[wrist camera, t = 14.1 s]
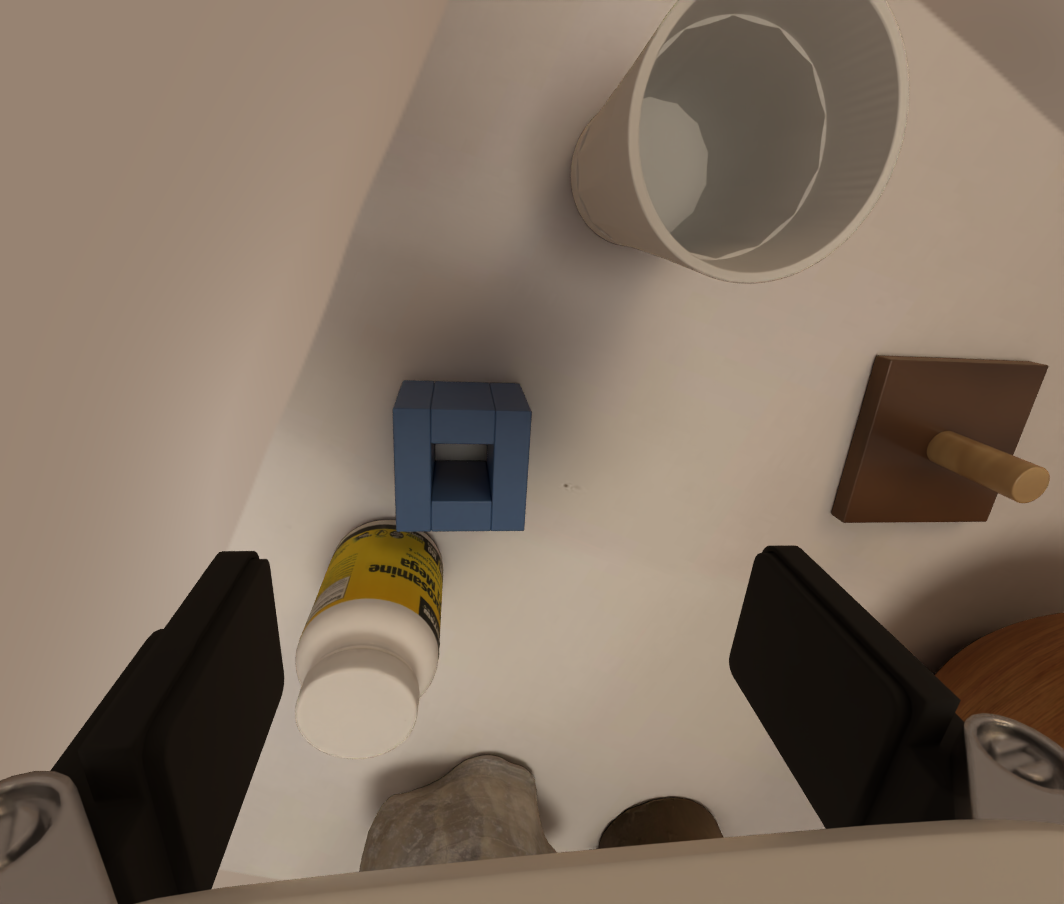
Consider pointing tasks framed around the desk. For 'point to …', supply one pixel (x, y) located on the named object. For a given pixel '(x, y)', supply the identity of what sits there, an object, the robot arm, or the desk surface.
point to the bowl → (1014, 675)
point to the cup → (748, 135)
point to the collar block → (460, 486)
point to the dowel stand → (940, 441)
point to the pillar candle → (661, 824)
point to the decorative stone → (459, 819)
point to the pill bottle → (370, 642)
